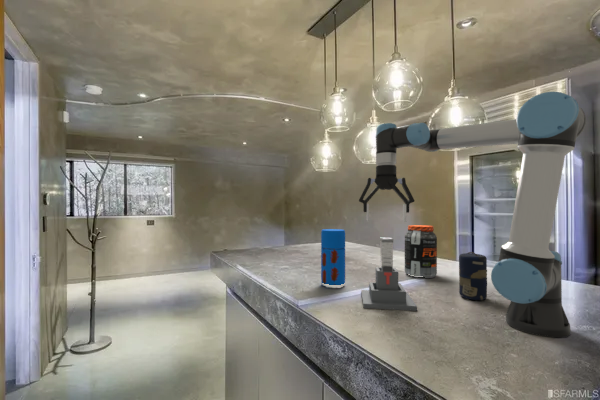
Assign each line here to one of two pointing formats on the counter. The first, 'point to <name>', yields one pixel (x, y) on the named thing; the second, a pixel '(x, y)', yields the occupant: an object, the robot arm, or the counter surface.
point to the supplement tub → (421, 251)
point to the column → (386, 252)
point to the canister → (473, 276)
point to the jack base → (387, 292)
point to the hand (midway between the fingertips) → (385, 221)
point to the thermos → (333, 256)
